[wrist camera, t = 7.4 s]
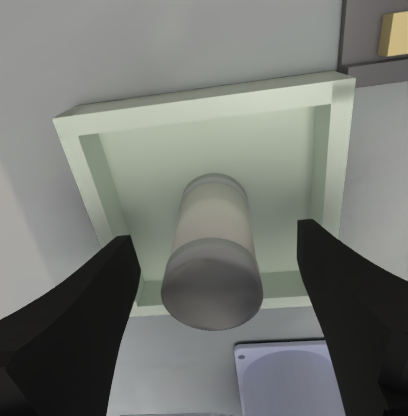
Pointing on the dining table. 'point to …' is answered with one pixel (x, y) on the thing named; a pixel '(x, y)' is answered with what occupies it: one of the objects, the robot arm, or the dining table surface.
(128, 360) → the dining table surface
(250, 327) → the dining table surface
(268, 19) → the dining table surface
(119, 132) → the tray
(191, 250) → the fuse
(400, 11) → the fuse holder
